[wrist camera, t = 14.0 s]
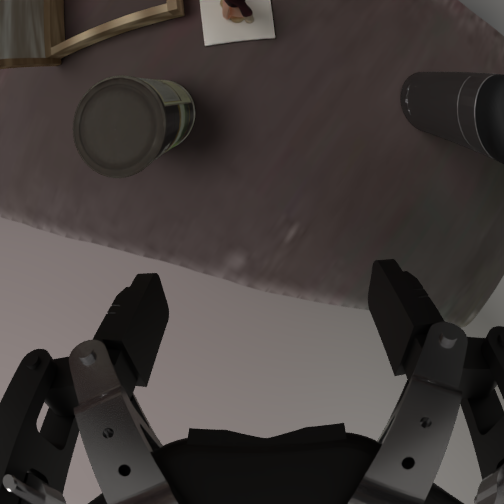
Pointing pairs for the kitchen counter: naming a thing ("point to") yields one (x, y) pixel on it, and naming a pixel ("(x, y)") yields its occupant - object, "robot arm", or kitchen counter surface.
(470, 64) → the kitchen counter surface
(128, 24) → the cold frame
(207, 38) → the tile
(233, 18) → the grandmother figurine
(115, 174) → the coffee can
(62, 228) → the kitchen counter surface
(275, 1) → the kitchen counter surface
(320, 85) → the kitchen counter surface
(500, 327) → the robot arm
